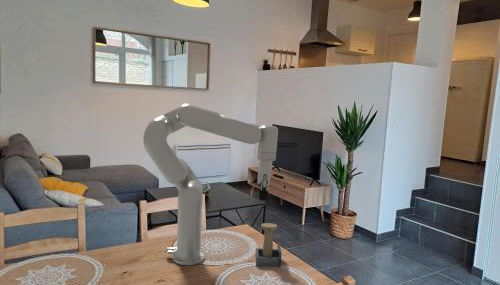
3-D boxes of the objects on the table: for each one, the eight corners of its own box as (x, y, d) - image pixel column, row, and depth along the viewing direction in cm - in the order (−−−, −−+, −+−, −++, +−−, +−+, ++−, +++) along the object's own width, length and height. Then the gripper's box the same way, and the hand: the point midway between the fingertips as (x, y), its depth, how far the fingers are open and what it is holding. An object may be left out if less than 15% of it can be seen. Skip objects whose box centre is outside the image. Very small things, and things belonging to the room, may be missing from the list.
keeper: (255, 265, 142) (256, 251, 141) (255, 256, 150) (256, 242, 150) (280, 267, 142) (281, 252, 141) (278, 257, 151) (279, 243, 150)
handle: (275, 263, 143) (277, 227, 142) (259, 262, 144) (261, 226, 142) (274, 258, 148) (276, 223, 147) (259, 257, 148) (261, 222, 147)
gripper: (257, 152, 153) (254, 190, 155) (257, 158, 136) (253, 201, 138) (275, 153, 153) (271, 192, 155) (276, 160, 135) (272, 203, 137)
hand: (262, 196), depth 146 cm, fingers open, 9 cm apart
